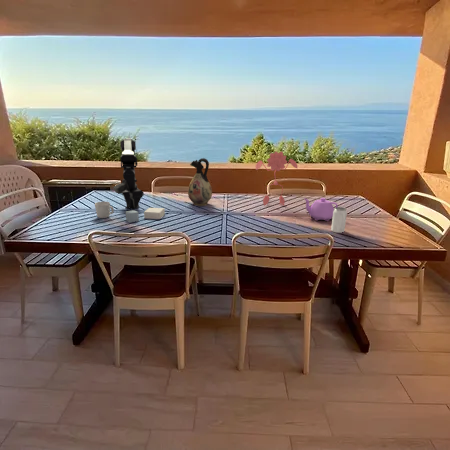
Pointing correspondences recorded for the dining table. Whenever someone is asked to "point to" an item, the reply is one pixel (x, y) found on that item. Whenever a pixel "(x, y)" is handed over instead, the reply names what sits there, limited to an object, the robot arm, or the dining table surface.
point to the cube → (132, 216)
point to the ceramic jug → (200, 184)
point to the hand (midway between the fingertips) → (131, 206)
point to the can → (339, 220)
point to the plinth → (154, 213)
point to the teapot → (321, 209)
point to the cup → (103, 209)
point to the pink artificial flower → (278, 164)
